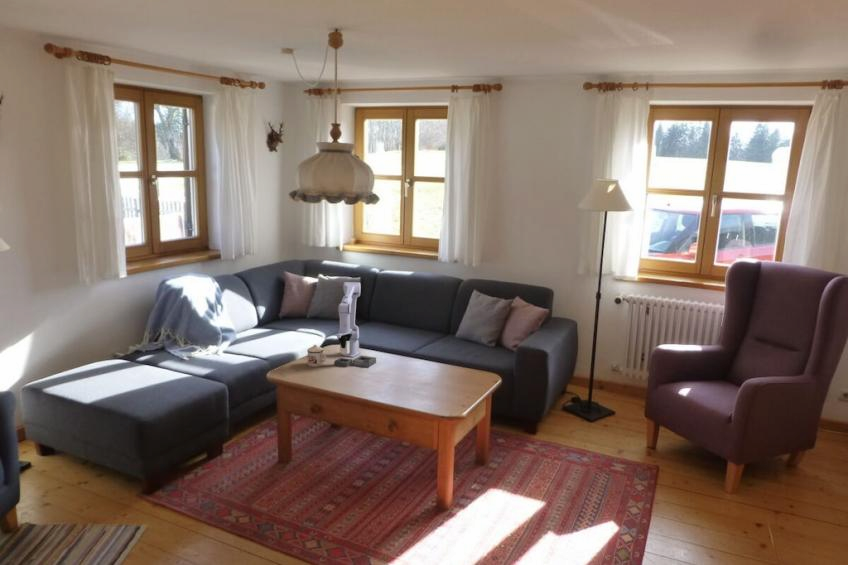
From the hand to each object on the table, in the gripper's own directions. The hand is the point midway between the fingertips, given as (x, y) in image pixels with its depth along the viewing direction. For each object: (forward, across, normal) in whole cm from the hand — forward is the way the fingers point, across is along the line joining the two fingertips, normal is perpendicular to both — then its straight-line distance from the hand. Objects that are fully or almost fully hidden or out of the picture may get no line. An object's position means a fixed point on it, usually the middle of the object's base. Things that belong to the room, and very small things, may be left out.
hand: (344, 347), depth 353 cm
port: (+10, -6, +10) cm, 15 cm away
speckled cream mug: (+11, +8, -14) cm, 19 cm away
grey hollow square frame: (+10, 0, -1) cm, 10 cm away
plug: (+3, 0, 0) cm, 3 cm away
